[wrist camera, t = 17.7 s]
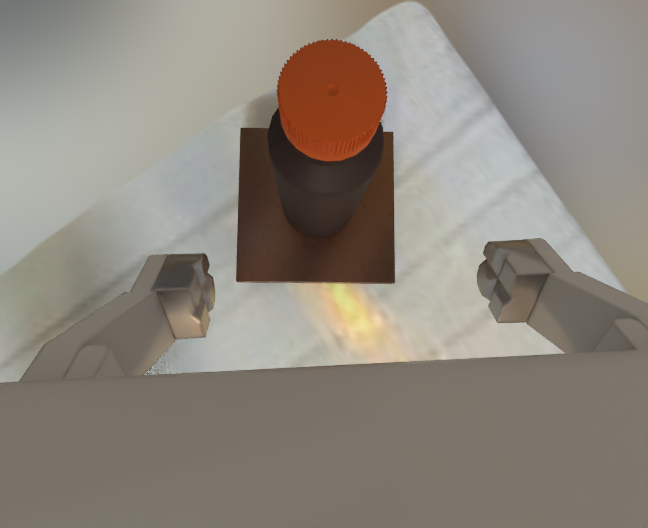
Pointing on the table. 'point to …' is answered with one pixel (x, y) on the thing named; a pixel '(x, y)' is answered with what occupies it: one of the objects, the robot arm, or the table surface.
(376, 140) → the vinegar
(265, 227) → the stand
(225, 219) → the table surface
